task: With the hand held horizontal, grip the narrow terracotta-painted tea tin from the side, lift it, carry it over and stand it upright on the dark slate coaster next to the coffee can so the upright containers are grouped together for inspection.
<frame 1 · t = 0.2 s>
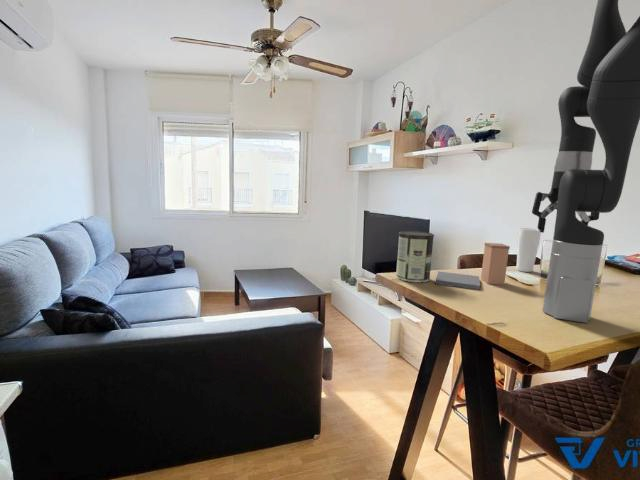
hand: (560, 234, 94), 17 cm above the table, tool pointing down, fingers open, 8 cm apart
tea tin: (492, 281, 112), on the table
slate coaster: (457, 281, 110), on the table
drinking glass: (524, 271, 129), on the table
coffee can: (412, 278, 111), on the table
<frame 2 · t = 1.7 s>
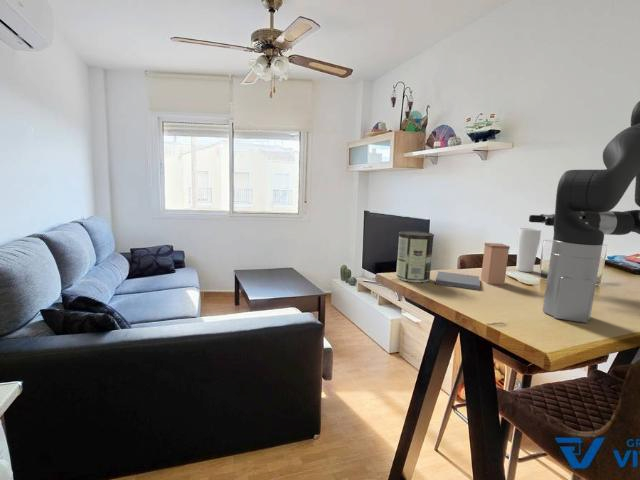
hand: (537, 220, 108), 20 cm above the table, tool horizontal, fingers open, 8 cm apart
nothing on the table moved.
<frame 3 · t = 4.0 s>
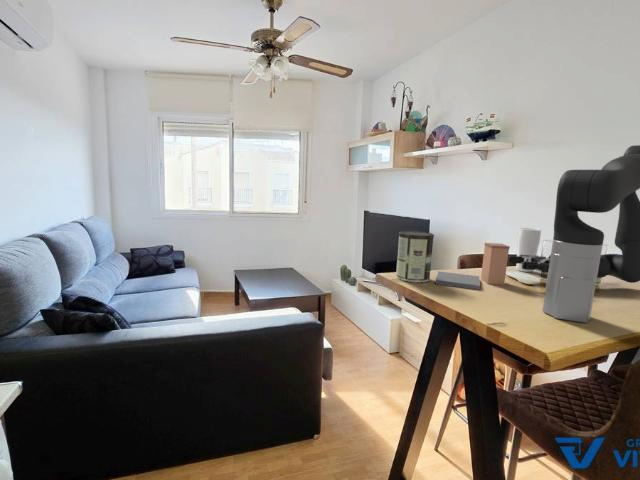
hand: (515, 262, 110), 7 cm above the table, tool horizontal, fingers open, 8 cm apart
nothing on the table moved.
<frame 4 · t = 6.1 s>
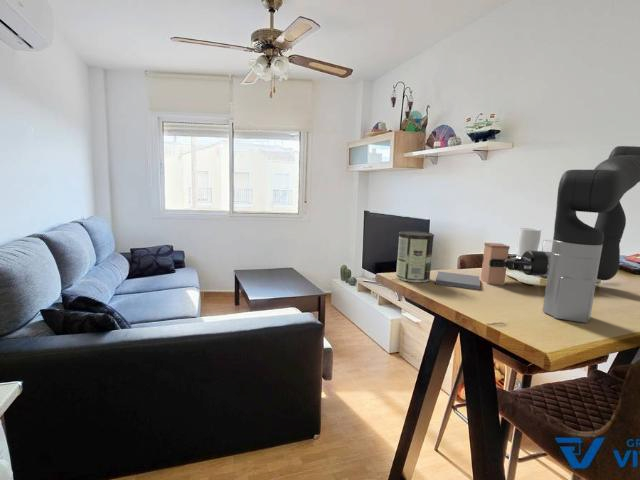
hand: (486, 260, 111), 7 cm above the table, tool horizontal, fingers closed on tea tin, 5 cm apart
tea tin: (492, 281, 112), on the table, touching gripper
everything else where it was.
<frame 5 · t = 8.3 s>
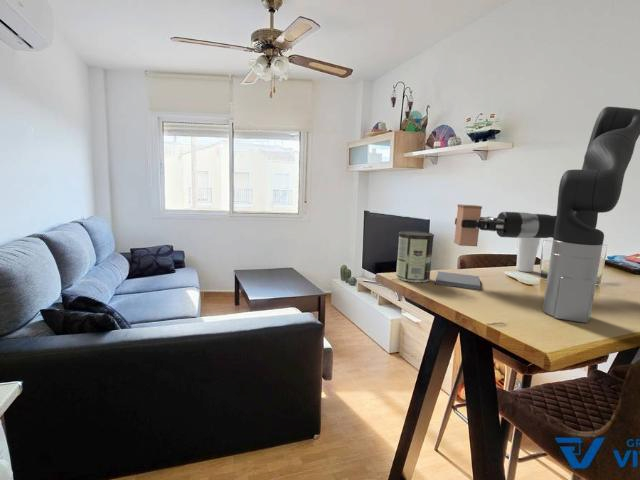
hand: (458, 222, 107), 18 cm above the table, tool horizontal, fingers closed on tea tin, 5 cm apart
tea tin: (465, 244, 108), point 11 cm above the table, touching gripper
everything else where it was.
when the fingers open (9 cm above the table, at t = 10.5 s): tea tin drops 1 cm, resting on slate coaster.
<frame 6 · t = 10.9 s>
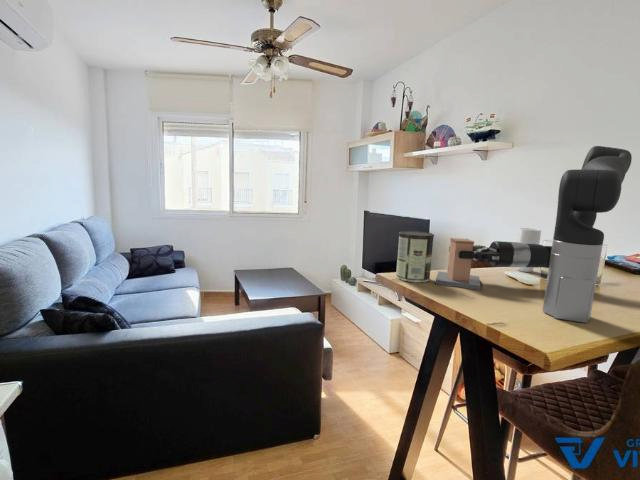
hand: (454, 251, 108), 9 cm above the table, tool horizontal, fingers open, 8 cm apart
tea tin: (457, 278, 109), point 1 cm above the table, touching slate coaster
everything else where it was.
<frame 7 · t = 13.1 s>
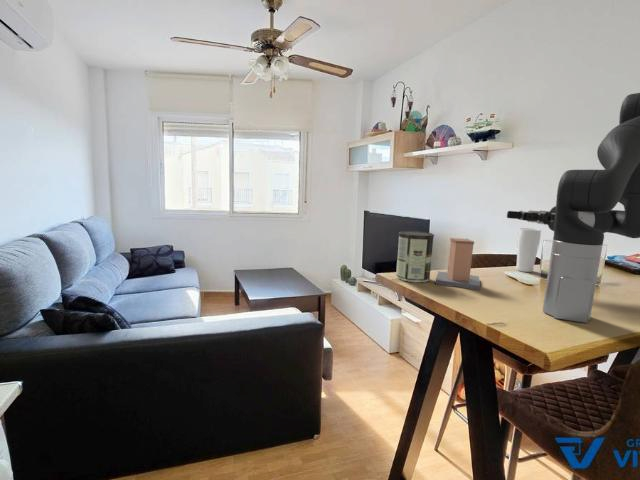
hand: (514, 215, 106), 21 cm above the table, tool horizontal, fingers open, 8 cm apart
nothing on the table moved.
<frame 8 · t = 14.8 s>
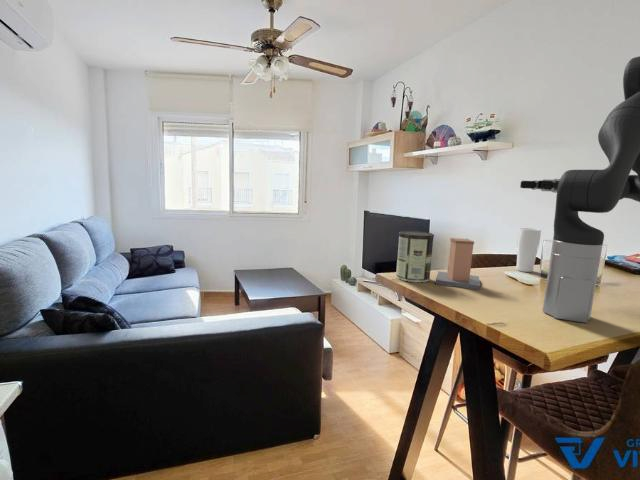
hand: (528, 184, 104), 30 cm above the table, tool horizontal, fingers open, 8 cm apart
nothing on the table moved.
at the end: tea tin inside the target area on the slate coaster (0.0 cm from its centre), point 1.2 cm above the slate coaster's base; tea tin tilted 0°; the gripper is holding nothing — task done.
